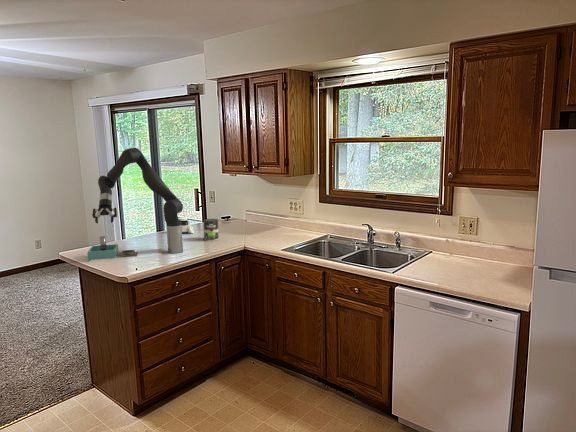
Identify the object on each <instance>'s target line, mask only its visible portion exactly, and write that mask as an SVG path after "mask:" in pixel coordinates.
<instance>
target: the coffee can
mask: <svg viewBox="0 0 576 432" xmlns="http://www.w3.org/2000/svg"><path fill="white" fill-rule="evenodd" d="M203 235H204V236H203V237H204V238H203V239H204V241H207V242H215V241H218V240H220V238H219V237H220V236H219V219H218V218H207V219H203Z"/></svg>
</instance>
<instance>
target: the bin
mask: <svg viewBox="0 0 576 432" xmlns="http://www.w3.org/2000/svg"><path fill="white" fill-rule="evenodd" d="M119 253H120V252H119V244H114V243H113V244H106V250H104V251H101V247H100V244H99V245H92V246H91V247H90V248H89V250H88V251H87V260H88V261H90V262H91V261H93V260H105V259H116V258H117V257H118V255H119Z"/></svg>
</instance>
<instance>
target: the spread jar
mask: <svg viewBox="0 0 576 432" xmlns="http://www.w3.org/2000/svg"><path fill="white" fill-rule="evenodd" d="M178 219H179V220H181V225H182V235H186V234H189V233H190V234H194V233H195V231H194V230H195V229H194V227H193V225H192V224H189V221H188V217H183V216H181V217H178Z"/></svg>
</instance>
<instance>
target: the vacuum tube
mask: <svg viewBox="0 0 576 432" xmlns="http://www.w3.org/2000/svg"><path fill="white" fill-rule="evenodd" d="M99 245H100V247H101V251H104V250H106V245H107V240H106V235H100V236H99Z"/></svg>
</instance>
